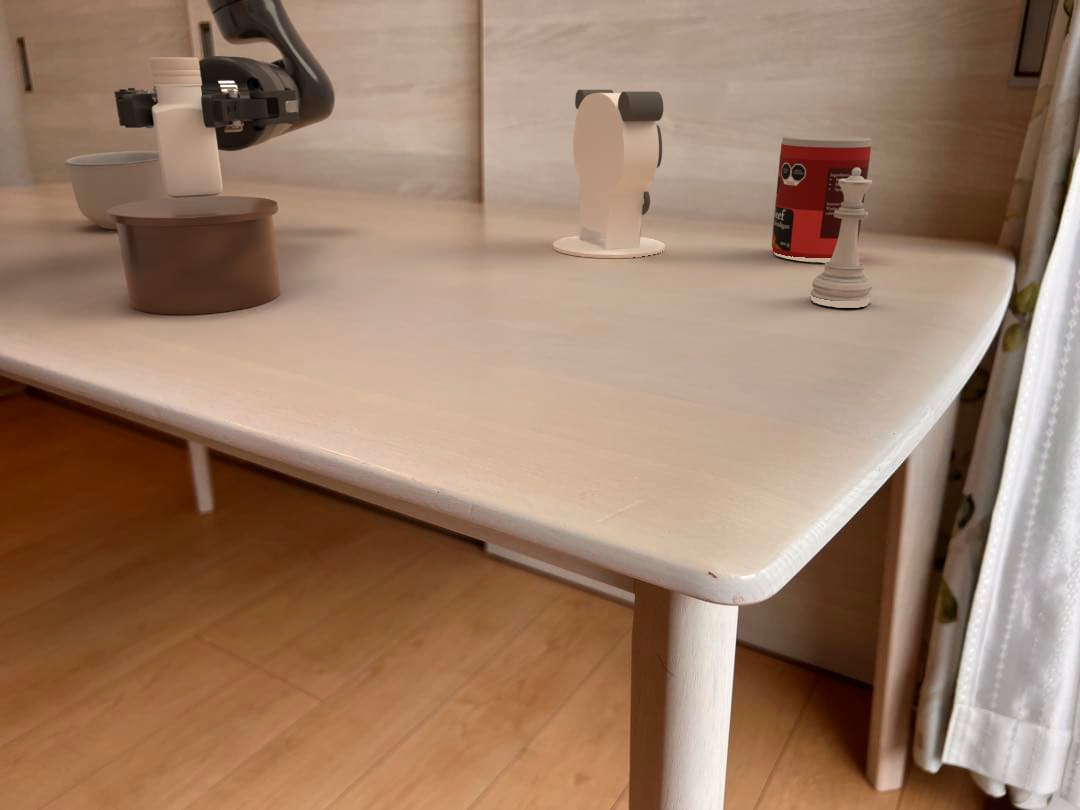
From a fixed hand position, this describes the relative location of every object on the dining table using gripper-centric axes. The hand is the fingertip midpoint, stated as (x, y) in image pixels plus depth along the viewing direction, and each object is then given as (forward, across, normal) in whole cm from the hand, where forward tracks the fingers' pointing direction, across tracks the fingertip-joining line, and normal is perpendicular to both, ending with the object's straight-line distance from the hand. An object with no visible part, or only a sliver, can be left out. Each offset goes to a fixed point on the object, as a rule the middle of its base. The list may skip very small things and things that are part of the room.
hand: (169, 111), depth 60 cm
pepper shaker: (-3, 0, +6) cm, 7 cm away
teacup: (-39, -21, +14) cm, 47 cm away
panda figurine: (-22, +34, +14) cm, 43 cm away
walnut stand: (-2, 0, +14) cm, 14 cm away
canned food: (-17, +53, +14) cm, 57 cm away
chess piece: (+1, +49, +14) cm, 51 cm away
